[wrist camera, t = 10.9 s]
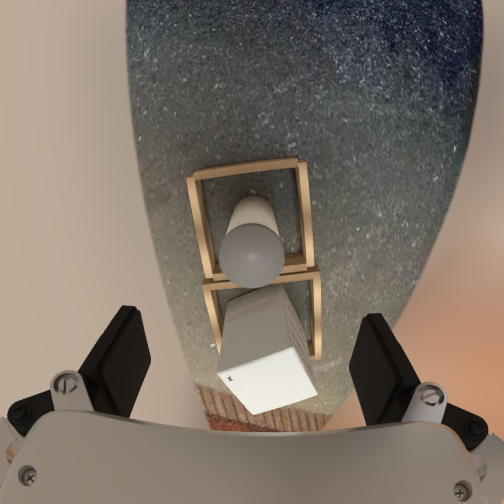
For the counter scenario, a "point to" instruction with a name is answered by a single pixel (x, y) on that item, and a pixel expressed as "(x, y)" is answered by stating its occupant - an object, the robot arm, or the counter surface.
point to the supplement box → (265, 351)
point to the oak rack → (295, 264)
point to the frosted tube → (252, 245)
